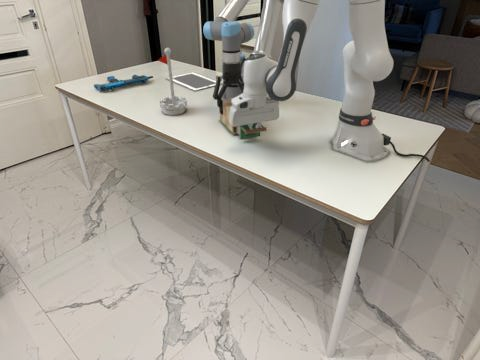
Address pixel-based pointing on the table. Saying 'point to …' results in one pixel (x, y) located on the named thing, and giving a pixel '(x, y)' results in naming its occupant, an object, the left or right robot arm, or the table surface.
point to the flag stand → (174, 103)
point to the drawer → (249, 131)
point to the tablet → (194, 81)
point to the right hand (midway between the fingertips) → (254, 132)
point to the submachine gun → (121, 82)
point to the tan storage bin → (227, 116)
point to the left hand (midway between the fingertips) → (232, 111)
